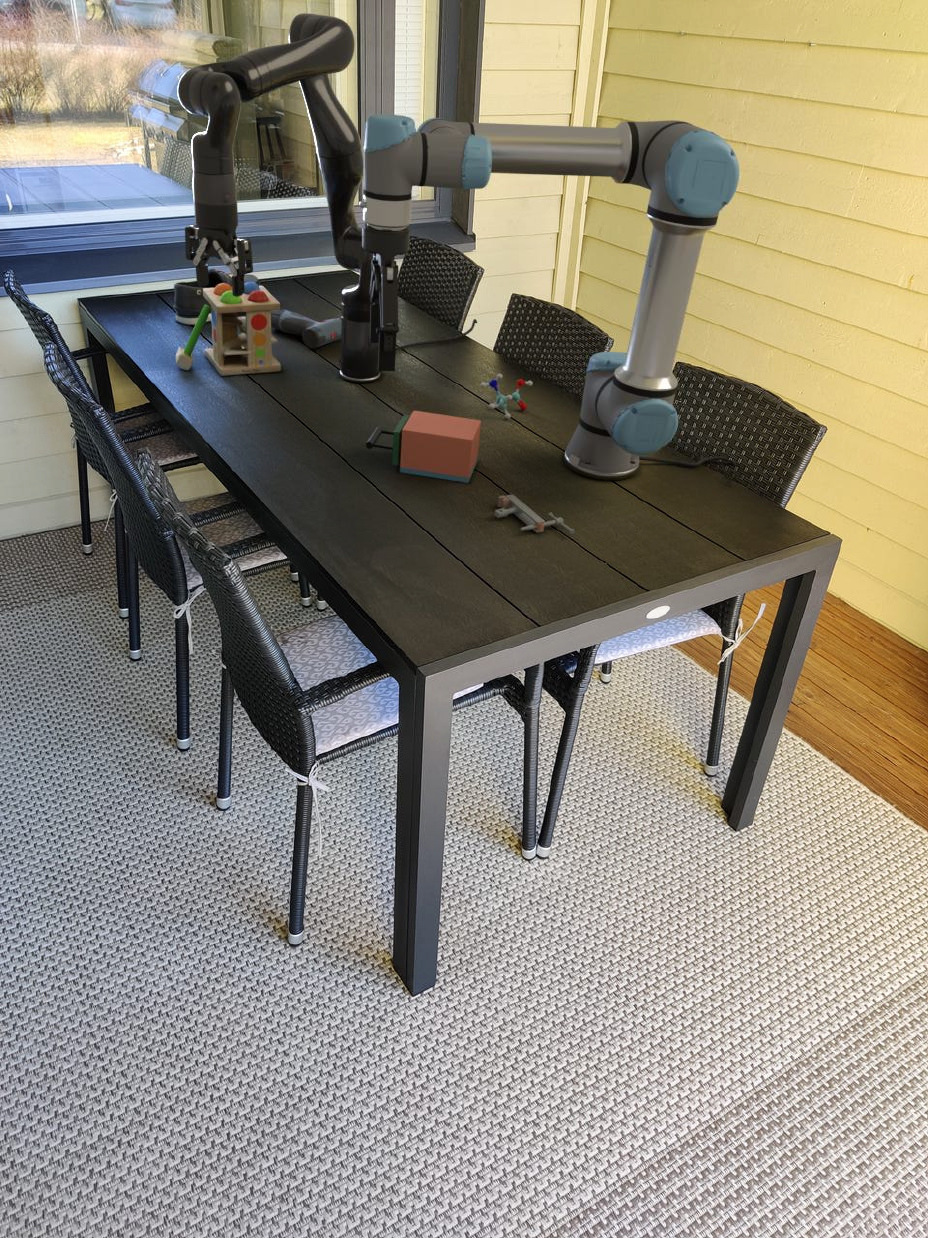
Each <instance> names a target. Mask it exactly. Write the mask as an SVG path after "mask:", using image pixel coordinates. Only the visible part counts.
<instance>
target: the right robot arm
mask: <svg viewBox="0 0 928 1238" xmlns="http://www.w3.org/2000/svg"><path fill="white" fill-rule="evenodd" d="M364 132H365V133H364V144H363V157H364V176H363V192H362V193H363V199H364V200H361V201H359V203H358V206H359V208H361V209H362V220H363V222H364V224H363V225H362V227H361V228H362V247H363V249H364V250H365V251H367V252H369V253H372V254H373V260H372V263H371V264H372V274H371V285H370V291H369V294H370V296H371V298H370V301H371V303H374V304H371V312H370V343H379V353H378V371H382V372H395V371H396V355H397V353H396V352H397V350H396V347H397V333H399V332H400V327H399V284H398V282H399V272H400V270H399V265H398V264H397V260H395V257H397V256H402V255H405V254H407V253H408V252H409V250H410V237H411V230H410V228H409V226H410V225H411V223H412V204H413V197H412V196H413V195H412V194H413V192H412V191H413V187H430V188H443V189H444V188H445V189H461V190H463V191H467V190H474V189H475V190H482V189H484V188H486V187H487V186H488V184H489V181H490V179H491V175H492V174H510V175H538V176H542V175H543V176H570V177H571V176H573V177H600V178H601V177H602V178H603V177H605V178H611V179H612V180H613V181H614V183H615V184H619V185H620V184H621V185H622V184H623V185H624V184H626V185H632V186H637V187H640V188H644V189H647V190H649V191H650V194H649V198H648V204H647V208H646V209H647V210H646V216H647V218H648V220H649V221H650V223H651V224H652V230H651V235H650V239H649V245H648V249H647V254H646V259H645V264H644V270H643V273H642V278H641V283H640V288H639V293H638V298H637V302H636V308H635V312H634V317H633V322H632V327H631V331H630V337H629V341H628V345H627V350H626V351H627V352H623V351H622V352H621V351H602V352H596V353H594V354H592V355H591V356H590V358H589V361H588V365H587V368H586V370H585V373H586V374H585V380H584V388H583V393H582V400H581V407H580V413H579V419H578V420H579V421H578V425H577V427H576V429H575V431H574V433H573V434H572V436H571V438H570V441H569V442H568V444H567V446H566V449H565V452H564V459H563V461H564V465H566V466H567V468H569V469H570V470H571V471H573V472H574V473H577V474H578V475H581V476H584V477H586V478H590V479H593V480H600V481H622V480H627V479H629V478H632V477H634V476H635V475H637V473H638V470H639V466H640V461H647V462H656V463H665V464H672V465H673V464H674V465H678V466H683V467H689V468H695V467H699V466H701V464H703V463H706V462H713V461H725V462H728V463H729V464H731V465H732V466H737V463H736V461H734V460H733V459H732V460H728V458H729V457H728V458H727V456H721V455H720V456H710V457H703V458H701V459H700V460H698V461H696V462H685V461H681V460H678V459H677V460H676V459H670V458H662V457H661V458H660V457H652V456H651V457H650V456H647V455H651V454H654V453H657V452H659V451H660V450H661V449H662V448H664V447H667V446H668V444H669V443H670V442H671V441H672V439H674V437H675V435H676V433H677V430H678V426H679V416H678V412H677V409H676V408H675V407H674V401H675V396H676V393H677V388H678V383H679V382H678V379H677V378H676V376H675V374H674V372H673V368H674V364H675V361H676V360H675V359H676V356H677V351H678V347H679V342H680V339H681V334H682V330H683V326H684V322H685V318H686V313H687V309H688V305H689V300H690V296H691V292H692V287H693V285H694V284H693V283H694V281H695V275H696V271H697V267H698V263H699V258H700V254H701V251H702V246H703V241H704V238H705V235H706V234H707V233H708V232H709V231H711V230H712V229H714V228H715V227H716V226H717V223H718V219H719V216H720V212H721V211H722V210H723V208H725V206H727V205H729V204H730V202H731V201H732V199H733V198H734V196H735V194H736V191H737V188H738V186H739V182H740V164H739V160H738V157H737V154H736V153H735V150H734V149H733V147H732V146H731V144H730V143H728V141H726V140H725V139H724V138H723V137H721V136H720V135H719V134H717V133H715V132H713V131H710V130H707V129H705V128H702V127H700V126H697V125H694V124H692V123H690V122H688V121H684V120H650V121H649V120H648V121H647V120H646V121H645V120H644V121H626V120H625V121H620V122H619V123H618V124H617V125H616V126H615V127H603V126H602V127H600V126H577V125H576V126H575V125H574V126H573V125H548V124H545V125H544V124H522V123H519V124H518V123H492V122H464V121H449V120H448V119H445V118H441V117H432V118H428V119H426V120H425V121H423V122H421V124H420V125H419V126H418V128H417V129H416V123H415V120H414V119H413V118H412V117H410V116H406V115H401V114H400V115H399V114H393V113H392V114H391V113H377V114H372V115H371V116H369V117H368V118H367V119H366V122H365V130H364Z"/></svg>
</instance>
